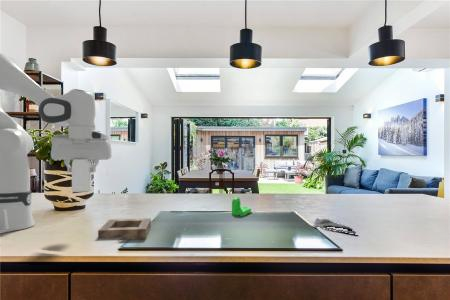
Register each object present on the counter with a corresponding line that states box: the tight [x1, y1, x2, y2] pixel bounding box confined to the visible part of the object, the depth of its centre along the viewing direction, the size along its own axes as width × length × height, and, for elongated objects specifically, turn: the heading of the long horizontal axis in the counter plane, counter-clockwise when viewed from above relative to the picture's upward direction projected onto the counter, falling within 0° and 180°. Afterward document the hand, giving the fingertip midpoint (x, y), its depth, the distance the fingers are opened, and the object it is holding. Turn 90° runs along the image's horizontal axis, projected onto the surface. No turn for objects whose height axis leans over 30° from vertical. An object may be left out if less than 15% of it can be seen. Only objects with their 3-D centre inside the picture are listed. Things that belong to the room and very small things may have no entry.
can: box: [71, 159, 92, 193], centre depth 108 cm, size 6×6×12 cm
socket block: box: [97, 217, 152, 241], centre depth 110 cm, size 16×16×4 cm
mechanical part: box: [231, 197, 252, 217], centre depth 148 cm, size 12×6×8 cm, turn 152°
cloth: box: [313, 218, 355, 234], centre depth 123 cm, size 26×14×2 cm, turn 3°
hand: (81, 172), depth 108 cm, fingers closed on can, 6 cm apart
